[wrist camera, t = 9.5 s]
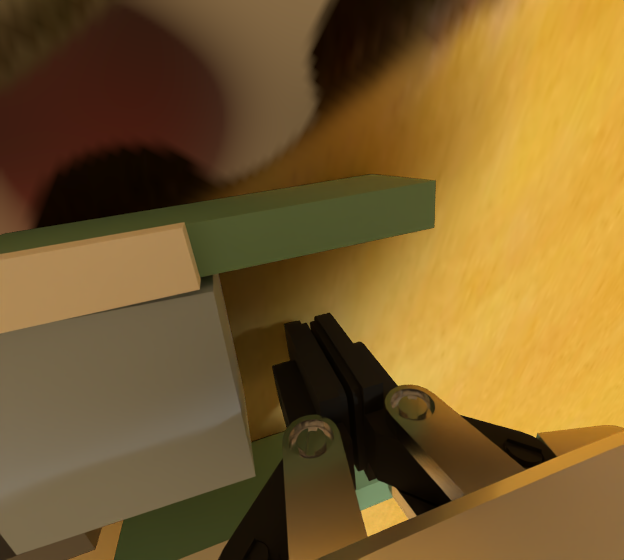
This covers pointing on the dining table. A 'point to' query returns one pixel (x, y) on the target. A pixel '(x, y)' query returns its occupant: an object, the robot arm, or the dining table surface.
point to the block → (118, 415)
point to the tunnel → (185, 278)
